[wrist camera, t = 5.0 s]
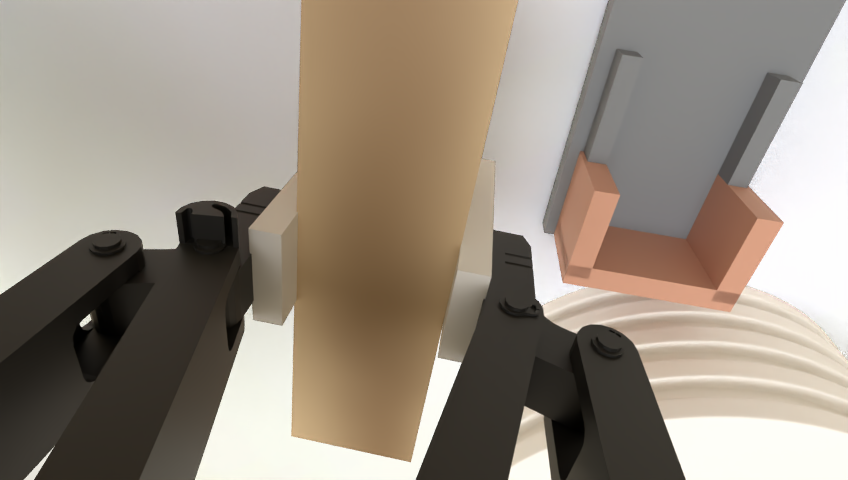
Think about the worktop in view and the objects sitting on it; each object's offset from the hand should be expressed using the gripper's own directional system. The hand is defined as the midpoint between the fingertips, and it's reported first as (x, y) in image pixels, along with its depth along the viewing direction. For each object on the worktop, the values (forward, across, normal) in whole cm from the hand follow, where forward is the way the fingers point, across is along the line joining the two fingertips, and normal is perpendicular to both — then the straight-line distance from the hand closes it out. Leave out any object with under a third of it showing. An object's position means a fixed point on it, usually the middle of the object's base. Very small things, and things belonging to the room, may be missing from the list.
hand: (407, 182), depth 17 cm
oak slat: (+1, 0, 0) cm, 1 cm away
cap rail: (+13, +12, +5) cm, 19 cm away
